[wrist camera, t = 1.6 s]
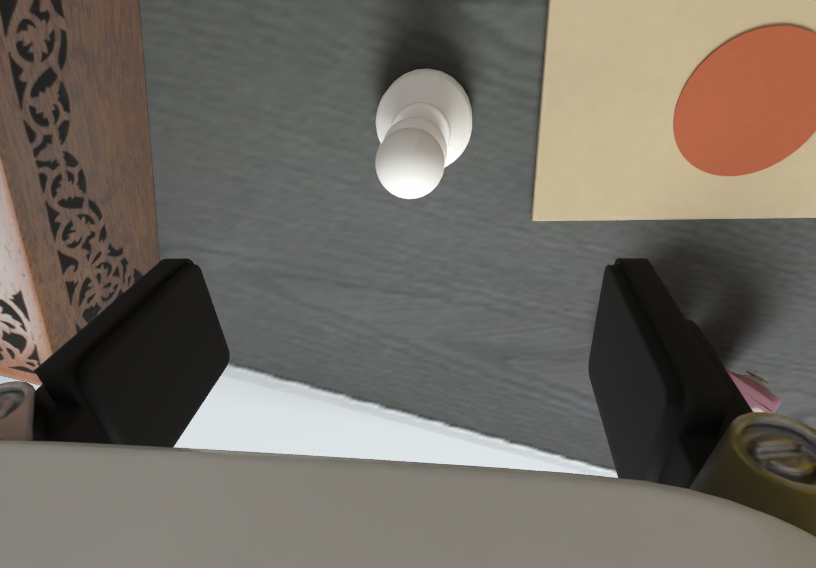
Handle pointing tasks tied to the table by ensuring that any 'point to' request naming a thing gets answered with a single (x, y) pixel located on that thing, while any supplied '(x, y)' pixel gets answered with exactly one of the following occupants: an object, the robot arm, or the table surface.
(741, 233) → the table surface
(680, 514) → the robot arm
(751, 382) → the video game controller
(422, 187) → the chess pawn
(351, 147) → the table surface
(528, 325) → the table surface
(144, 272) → the tissue box cover
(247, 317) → the table surface
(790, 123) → the mat
